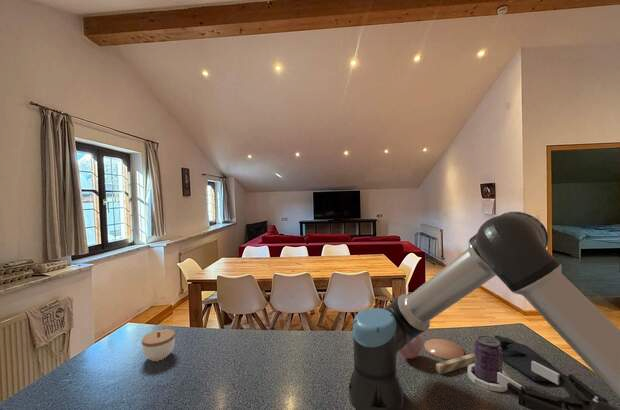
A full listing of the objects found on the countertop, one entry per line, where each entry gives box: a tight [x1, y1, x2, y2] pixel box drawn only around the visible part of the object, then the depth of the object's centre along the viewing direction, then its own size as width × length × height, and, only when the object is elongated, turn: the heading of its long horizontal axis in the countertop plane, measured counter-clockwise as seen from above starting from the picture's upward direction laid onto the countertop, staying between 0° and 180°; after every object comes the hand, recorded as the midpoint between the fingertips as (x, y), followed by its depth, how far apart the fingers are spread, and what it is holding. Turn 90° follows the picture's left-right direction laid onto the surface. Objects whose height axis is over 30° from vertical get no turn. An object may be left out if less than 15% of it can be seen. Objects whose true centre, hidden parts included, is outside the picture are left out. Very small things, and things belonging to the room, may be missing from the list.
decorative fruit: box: [398, 335, 423, 360], centre depth 97 cm, size 9×8×10 cm
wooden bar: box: [435, 352, 475, 375], centre depth 92 cm, size 18×2×2 cm, turn 110°
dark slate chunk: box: [494, 335, 566, 384], centre depth 93 cm, size 15×22×5 cm
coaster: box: [424, 338, 465, 361], centre depth 102 cm, size 13×13×1 cm
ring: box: [466, 363, 511, 393], centre depth 85 cm, size 11×12×2 cm
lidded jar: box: [141, 328, 176, 362], centre depth 102 cm, size 11×11×9 cm
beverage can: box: [474, 334, 503, 384], centre depth 85 cm, size 7×7×12 cm
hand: (515, 371), depth 78 cm, fingers open, 13 cm apart
